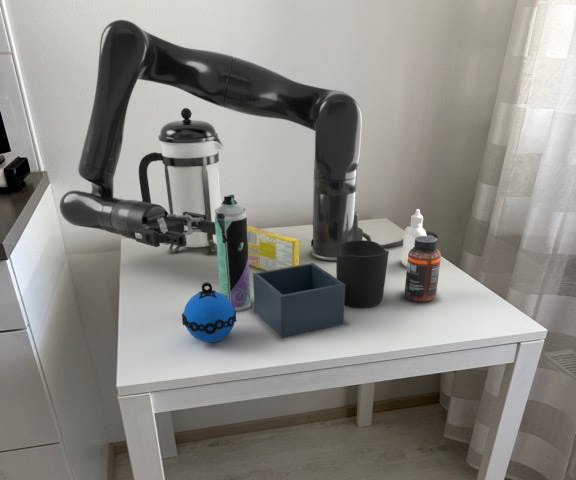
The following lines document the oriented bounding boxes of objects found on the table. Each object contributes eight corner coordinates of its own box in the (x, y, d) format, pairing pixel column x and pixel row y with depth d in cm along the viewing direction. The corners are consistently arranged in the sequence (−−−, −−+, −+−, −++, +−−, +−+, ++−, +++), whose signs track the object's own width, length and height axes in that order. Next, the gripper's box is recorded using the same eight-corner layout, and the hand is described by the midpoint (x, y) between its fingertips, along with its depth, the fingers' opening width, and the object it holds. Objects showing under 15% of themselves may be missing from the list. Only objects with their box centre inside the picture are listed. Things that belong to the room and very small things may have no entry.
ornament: (235, 326, 97) (231, 271, 92) (239, 349, 90) (235, 291, 84) (185, 330, 96) (178, 275, 91) (185, 354, 89) (178, 295, 83)
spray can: (246, 312, 102) (240, 199, 92) (217, 310, 103) (208, 198, 92) (254, 300, 107) (249, 192, 96) (226, 298, 108) (218, 191, 97)
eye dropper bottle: (402, 269, 120) (408, 213, 114) (400, 260, 125) (406, 206, 118) (423, 270, 120) (430, 213, 113) (420, 261, 124) (427, 206, 118)
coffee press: (212, 232, 144) (201, 102, 128) (240, 249, 132) (232, 108, 117) (147, 244, 137) (127, 107, 121) (171, 263, 125) (152, 114, 109)
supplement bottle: (437, 292, 109) (445, 235, 103) (433, 304, 104) (441, 245, 98) (406, 289, 111) (412, 232, 105) (401, 300, 106) (407, 241, 100)
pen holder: (390, 294, 108) (394, 243, 103) (376, 313, 101) (380, 259, 96) (344, 287, 112) (346, 237, 107) (327, 304, 104) (329, 252, 99)
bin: (312, 299, 107) (312, 262, 103) (343, 324, 97) (345, 284, 94) (254, 311, 102) (252, 273, 99) (281, 337, 93) (280, 297, 89)
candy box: (300, 278, 116) (300, 239, 112) (293, 281, 115) (292, 241, 110) (248, 260, 126) (246, 223, 121) (241, 262, 125) (239, 225, 120)
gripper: (108, 209, 103) (171, 223, 95) (164, 194, 113) (225, 205, 105) (115, 249, 107) (176, 265, 99) (168, 231, 117) (228, 244, 109)
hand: (201, 234), depth 102 cm, fingers open, 8 cm apart
